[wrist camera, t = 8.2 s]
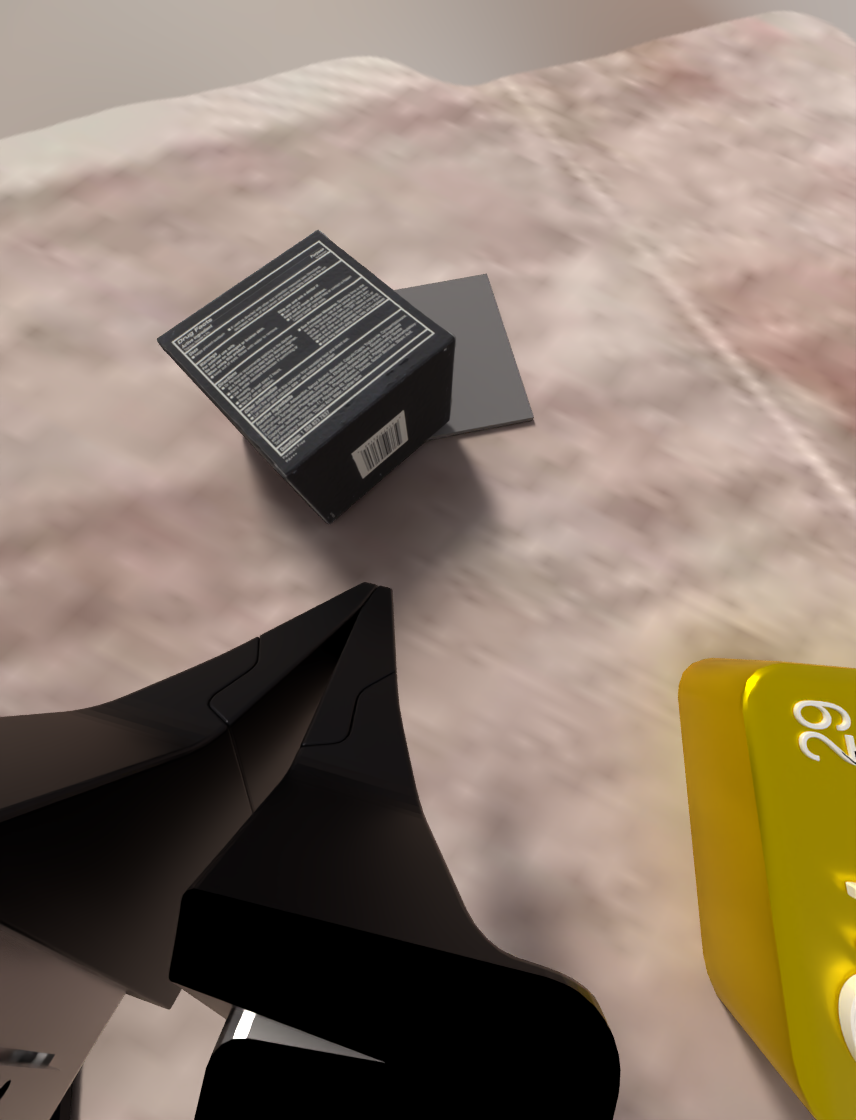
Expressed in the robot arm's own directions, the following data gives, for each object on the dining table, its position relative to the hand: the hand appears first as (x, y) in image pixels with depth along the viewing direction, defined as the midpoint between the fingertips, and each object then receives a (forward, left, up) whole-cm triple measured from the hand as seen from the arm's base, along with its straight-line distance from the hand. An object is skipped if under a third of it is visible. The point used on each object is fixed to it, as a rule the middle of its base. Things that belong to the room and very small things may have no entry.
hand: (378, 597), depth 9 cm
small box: (+9, -1, -6) cm, 11 cm away
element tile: (-14, -19, -10) cm, 26 cm away
